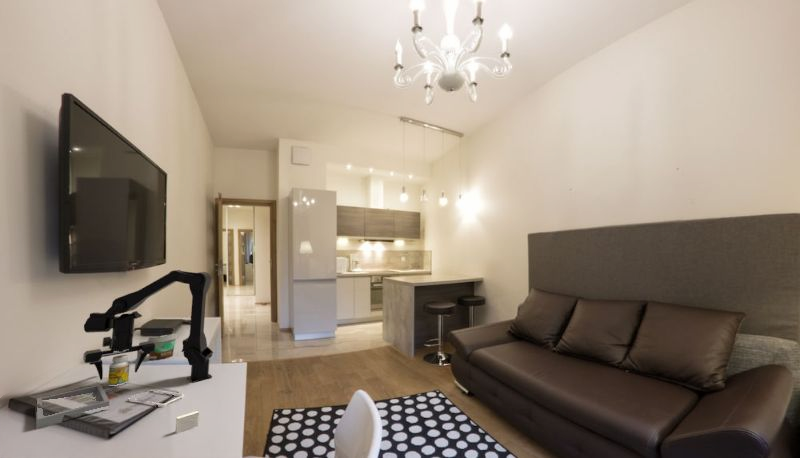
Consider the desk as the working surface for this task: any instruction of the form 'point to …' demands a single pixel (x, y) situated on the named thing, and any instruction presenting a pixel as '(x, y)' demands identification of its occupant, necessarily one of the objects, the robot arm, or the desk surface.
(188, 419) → the eraser
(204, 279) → the robot arm
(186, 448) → the desk surface
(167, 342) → the food container
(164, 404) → the phone case
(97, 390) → the tray
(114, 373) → the supplement bottle
